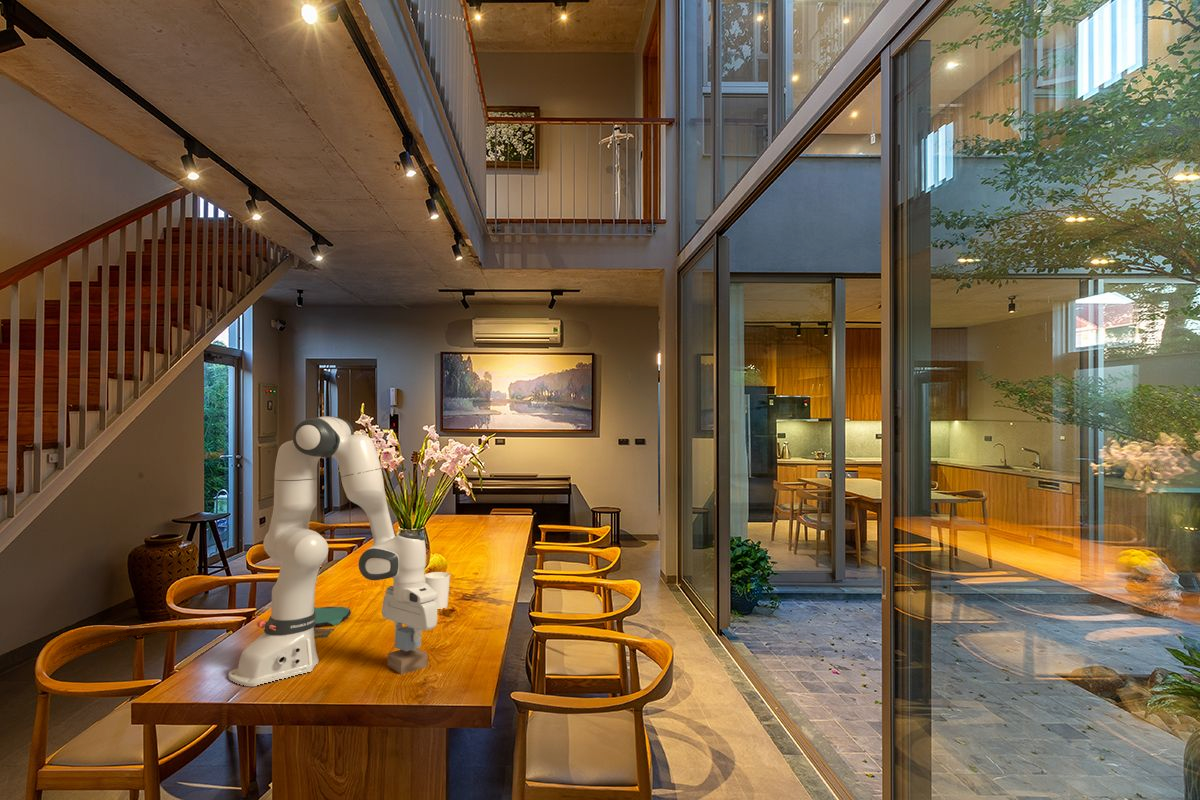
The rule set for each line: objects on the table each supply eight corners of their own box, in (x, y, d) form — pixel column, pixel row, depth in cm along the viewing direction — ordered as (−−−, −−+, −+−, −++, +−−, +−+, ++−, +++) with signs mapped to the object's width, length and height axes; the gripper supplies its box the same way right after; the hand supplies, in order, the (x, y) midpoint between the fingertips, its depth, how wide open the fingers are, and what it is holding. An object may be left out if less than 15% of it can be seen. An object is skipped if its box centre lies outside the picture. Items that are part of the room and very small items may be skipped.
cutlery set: (357, 611, 230) (357, 604, 230) (333, 640, 200) (333, 632, 200) (300, 613, 227) (300, 606, 228) (267, 642, 198) (267, 635, 198)
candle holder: (418, 606, 236) (419, 574, 237) (442, 601, 243) (442, 570, 243) (430, 612, 229) (431, 579, 229) (454, 607, 235) (455, 575, 236)
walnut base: (401, 675, 172) (401, 660, 172) (387, 667, 177) (388, 653, 178) (427, 667, 177) (427, 653, 178) (413, 660, 183) (413, 646, 183)
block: (406, 651, 174) (406, 633, 174) (394, 647, 177) (395, 629, 177) (420, 646, 178) (421, 628, 179) (409, 642, 181) (409, 625, 181)
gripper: (377, 586, 182) (375, 635, 181) (423, 598, 170) (422, 650, 169) (395, 582, 187) (394, 629, 186) (441, 593, 175) (440, 643, 175)
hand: (408, 639), depth 178 cm, fingers closed on block, 5 cm apart
